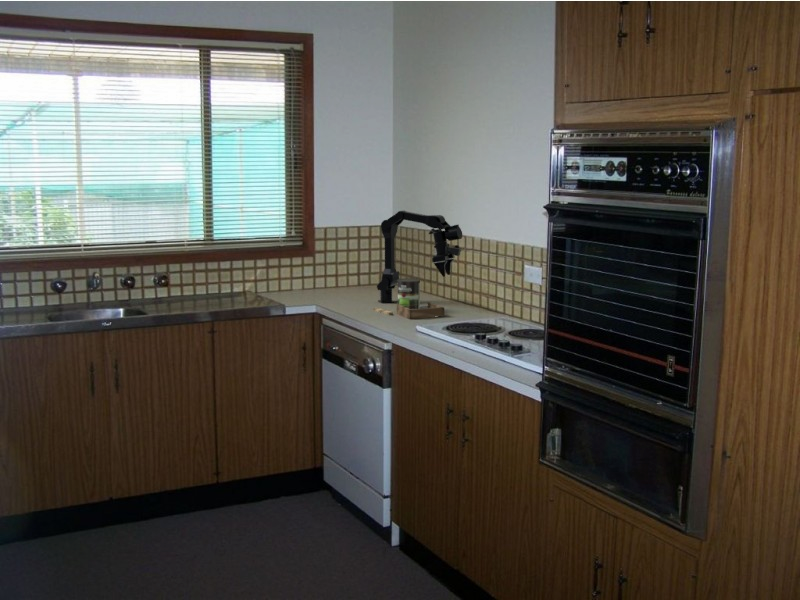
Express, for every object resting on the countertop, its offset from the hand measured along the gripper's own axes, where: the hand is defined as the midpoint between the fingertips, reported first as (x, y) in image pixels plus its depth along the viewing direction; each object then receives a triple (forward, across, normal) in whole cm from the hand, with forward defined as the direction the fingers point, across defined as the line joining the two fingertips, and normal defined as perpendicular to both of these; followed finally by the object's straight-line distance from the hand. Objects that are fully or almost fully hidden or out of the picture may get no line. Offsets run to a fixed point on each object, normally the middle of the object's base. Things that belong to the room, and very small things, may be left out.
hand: (446, 275), depth 424 cm
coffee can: (+12, -13, +17) cm, 25 cm away
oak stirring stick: (+11, -22, +26) cm, 36 cm away
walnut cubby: (+14, -23, +9) cm, 28 cm away
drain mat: (+13, -5, +10) cm, 17 cm away
